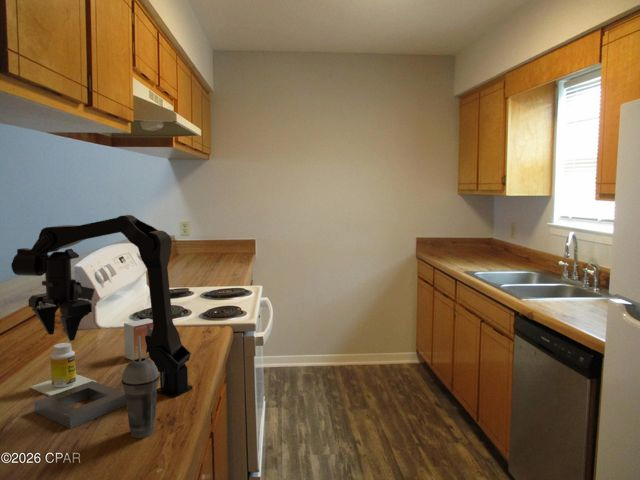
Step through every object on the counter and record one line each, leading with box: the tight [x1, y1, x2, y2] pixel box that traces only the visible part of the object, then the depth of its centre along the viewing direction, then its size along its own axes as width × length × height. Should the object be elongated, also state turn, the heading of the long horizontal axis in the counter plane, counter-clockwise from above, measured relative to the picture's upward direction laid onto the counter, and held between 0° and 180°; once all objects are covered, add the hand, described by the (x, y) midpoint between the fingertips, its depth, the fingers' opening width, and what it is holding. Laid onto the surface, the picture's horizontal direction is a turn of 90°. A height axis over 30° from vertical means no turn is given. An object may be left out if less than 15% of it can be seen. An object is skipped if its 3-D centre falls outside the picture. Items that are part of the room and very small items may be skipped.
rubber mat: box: [30, 373, 98, 397], centre depth 123 cm, size 11×11×1 cm
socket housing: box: [33, 380, 127, 429], centre depth 111 cm, size 14×14×2 cm
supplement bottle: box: [49, 342, 77, 388], centre depth 123 cm, size 6×6×10 cm
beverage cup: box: [120, 336, 160, 439], centre depth 99 cm, size 7×7×20 cm
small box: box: [123, 317, 153, 361], centre depth 145 cm, size 8×6×10 cm
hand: (61, 337), depth 122 cm, fingers open, 9 cm apart
